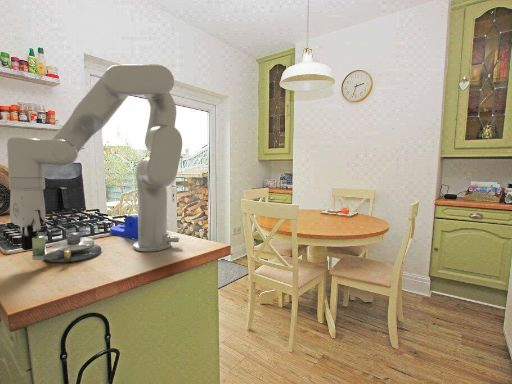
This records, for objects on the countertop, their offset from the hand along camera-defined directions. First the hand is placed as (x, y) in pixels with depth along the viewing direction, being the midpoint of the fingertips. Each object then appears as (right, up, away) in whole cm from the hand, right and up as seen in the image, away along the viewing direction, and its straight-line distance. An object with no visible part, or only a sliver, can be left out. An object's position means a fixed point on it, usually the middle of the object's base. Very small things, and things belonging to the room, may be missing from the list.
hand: (30, 248), depth 76 cm
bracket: (+12, -2, +35) cm, 37 cm away
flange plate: (+5, -2, +6) cm, 8 cm away
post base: (+6, -4, +10) cm, 12 cm away
